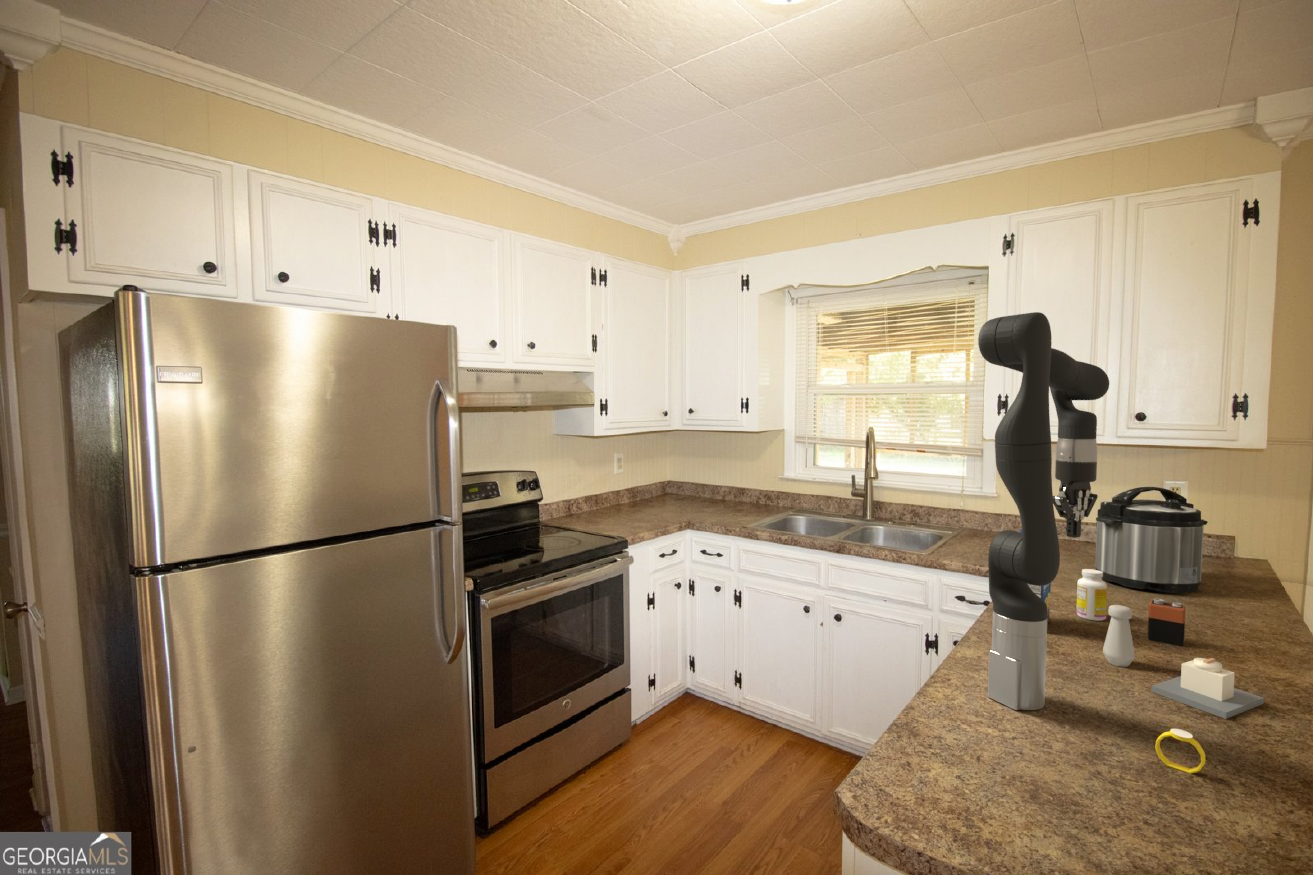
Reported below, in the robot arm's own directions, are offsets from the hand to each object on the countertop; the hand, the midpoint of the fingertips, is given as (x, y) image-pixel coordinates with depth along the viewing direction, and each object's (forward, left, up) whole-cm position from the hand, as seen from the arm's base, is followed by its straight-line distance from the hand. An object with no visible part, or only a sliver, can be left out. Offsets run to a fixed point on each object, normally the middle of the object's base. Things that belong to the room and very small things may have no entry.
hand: (1073, 536), depth 135 cm
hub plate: (+9, -21, -29) cm, 37 cm away
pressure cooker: (+87, +30, -29) cm, 97 cm away
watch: (-24, -32, -29) cm, 50 cm away
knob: (+9, -21, -28) cm, 36 cm away
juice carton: (+17, +21, -29) cm, 40 cm away
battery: (+36, -1, -29) cm, 46 cm away
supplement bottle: (+37, +17, -29) cm, 50 cm away
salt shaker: (+11, -4, -29) cm, 31 cm away
